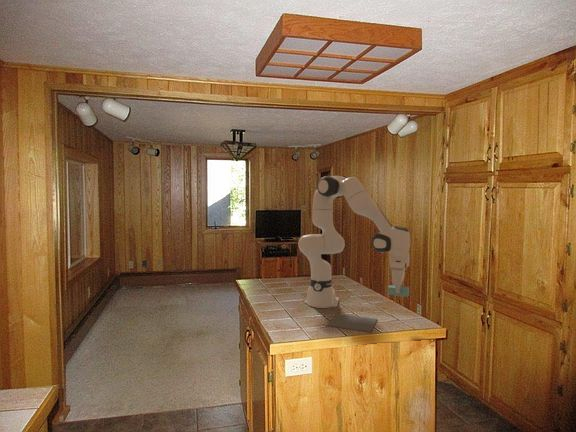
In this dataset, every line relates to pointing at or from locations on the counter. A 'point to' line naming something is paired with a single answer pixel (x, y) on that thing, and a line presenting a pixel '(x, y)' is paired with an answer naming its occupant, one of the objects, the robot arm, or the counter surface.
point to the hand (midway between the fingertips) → (398, 291)
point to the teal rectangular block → (403, 291)
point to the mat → (352, 322)
